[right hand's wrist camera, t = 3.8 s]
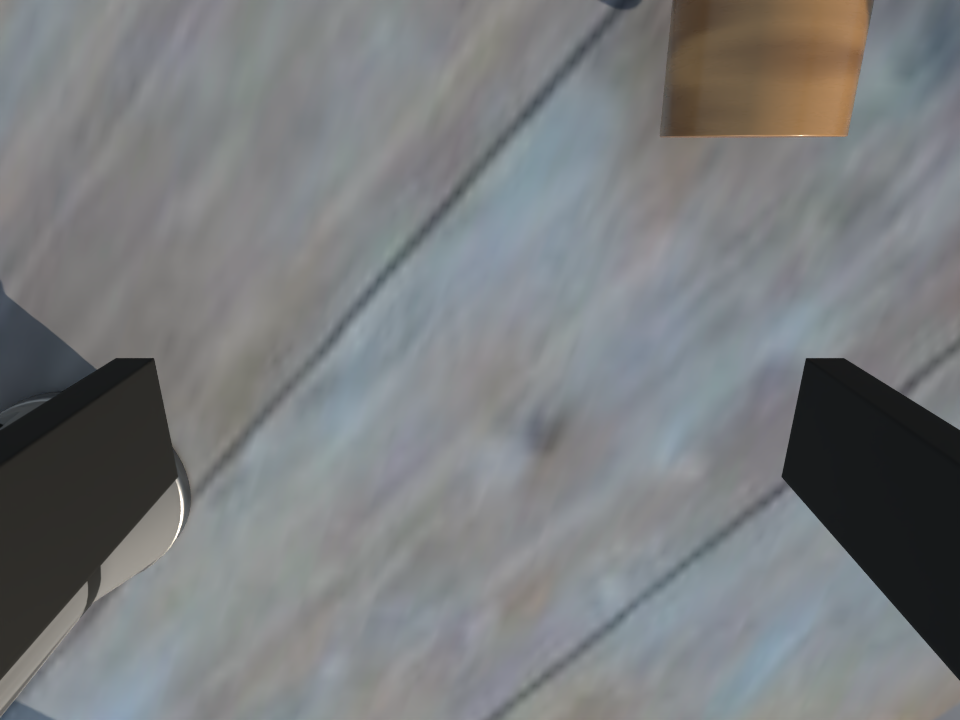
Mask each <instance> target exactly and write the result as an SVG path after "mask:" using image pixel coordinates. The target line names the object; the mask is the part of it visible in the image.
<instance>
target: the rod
mask: <svg viewBox="0 0 960 720" xmlns="http://www.w3.org/2000/svg"><path fill="white" fill-rule="evenodd" d="M873 3H874V0H673V3H672V13H671V24H670V34H669V45H668V55H667V66H666V76H665V86H664V97H663V107H662V118H661V128H660V137H846V136H847V135H848V131H849V126H850V121H851V116H852V110H853V105H854V100H855V95H856V90H857V85H858V80H859V75H860V70H861V64H862V59H863V54H864V49H865V44H866V39H867V34H868V29H869V24H870V18H871V13H872V8H873Z"/></svg>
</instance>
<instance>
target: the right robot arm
mask: <svg viewBox="0 0 960 720" xmlns="http://www.w3.org/2000/svg"><path fill="white" fill-rule="evenodd" d="M782 478H783V479H784V480H785V481H786V482H787V484H788V485H789V486H790V487H791V488H792V489H793V490H794V492H795V493H796V494H797V495H798V496H799V497H800V498H801V500H802V501H803V502H804V503H805V504H806V505H807V506H808V508H809V509H810V510H811V511H812V512H813V513H814V514H815V516H816V517H817V518H818V519H819V520H820V521H821V522H822V524H823V525H824V526H825V527H826V528H827V529H828V530H829V532H830V533H831V534H832V535H833V536H834V537H835V538H836V540H837V541H838V542H839V543H840V544H841V545H842V547H843V548H844V549H845V550H846V551H847V552H848V553H849V555H850V556H851V557H852V558H853V559H854V560H855V561H856V563H857V564H858V565H859V566H860V567H861V568H862V569H863V571H864V572H865V573H866V574H867V575H868V576H869V577H870V579H871V580H872V581H873V582H874V583H875V584H876V585H877V587H878V588H879V589H880V590H881V591H882V592H883V593H884V595H885V596H886V597H887V598H888V599H889V600H890V601H891V603H892V604H893V605H894V606H895V607H896V608H897V609H898V611H899V612H900V613H901V614H902V615H903V616H904V617H905V619H906V620H907V621H908V622H909V623H910V624H911V625H912V627H913V628H914V629H915V630H916V631H917V632H918V633H919V635H920V636H921V637H922V638H923V639H924V640H925V641H926V643H927V644H928V645H929V646H930V647H931V648H932V649H933V651H934V652H935V653H936V654H937V655H938V656H939V657H940V659H941V660H942V661H943V662H944V663H945V664H946V665H947V667H948V668H949V669H950V670H951V671H952V672H953V673H954V675H955V676H956V677H957V678H958V679H959V680H960V430H959V429H957V428H955V427H954V426H952V425H951V424H949V423H947V422H946V421H944V420H943V419H941V418H939V417H938V416H936V415H935V414H933V413H931V412H930V411H928V410H926V409H925V408H923V407H922V406H920V405H918V404H917V403H915V402H914V401H912V400H910V399H909V398H907V397H906V396H904V395H902V394H901V393H899V392H897V391H896V390H894V389H893V388H891V387H889V386H888V385H886V384H885V383H883V382H881V381H880V380H878V379H877V378H875V377H873V376H872V375H870V374H869V373H867V372H865V371H864V370H862V369H860V368H859V367H857V366H856V365H854V364H852V363H851V362H849V361H848V360H846V359H844V358H806V361H805V366H804V371H803V375H802V380H801V385H800V390H799V395H798V400H797V405H796V409H795V414H794V419H793V424H792V429H791V434H790V439H789V443H788V448H787V453H786V458H785V463H784V468H783V473H782ZM190 502H191V495H190V486H189V481H188V477H187V474H186V471H185V469H184V466H183V464H182V462H181V460H180V458H179V456H178V455H177V453H176V452H175V450H174V449H173V447H172V443H171V439H170V434H169V429H168V424H167V419H166V414H165V409H164V405H163V400H162V395H161V390H160V385H159V380H158V375H157V371H156V366H155V361H154V358H116V359H114V360H112V361H111V362H109V363H108V364H106V365H104V366H103V367H101V368H100V369H98V370H96V371H95V372H93V373H91V374H90V375H88V376H87V377H85V378H83V379H82V380H80V381H79V382H77V383H75V384H74V385H72V386H71V387H69V388H67V389H66V390H64V391H63V392H52V393H45V394H40V395H36V396H33V397H30V398H27V399H25V400H22V401H20V402H19V403H17V404H15V405H13V406H11V407H10V408H8V409H6V410H5V411H3V412H1V413H0V717H1V716H2V715H3V714H4V712H5V711H6V710H7V709H8V707H9V706H10V705H11V704H12V702H13V701H14V700H15V699H16V697H17V696H18V695H19V694H20V692H21V691H22V690H23V689H24V687H25V686H26V685H27V684H28V682H29V681H30V680H31V679H32V677H33V676H34V675H35V674H36V672H37V671H38V670H39V669H40V668H41V666H42V665H43V664H44V663H45V661H46V660H47V659H48V658H49V656H50V655H51V654H52V653H53V651H54V650H55V649H56V648H57V646H58V645H59V644H60V643H61V641H62V640H63V639H64V638H65V636H66V635H67V634H68V633H69V631H70V630H71V629H72V628H73V626H74V625H75V624H76V623H77V621H78V620H79V619H80V618H81V616H82V615H83V614H84V613H85V612H86V610H87V609H88V608H89V607H90V606H91V604H92V603H93V602H95V601H96V600H98V599H99V598H101V597H102V596H104V595H105V594H107V593H109V592H110V591H112V590H113V589H115V588H116V587H118V586H119V585H121V584H122V583H124V582H125V581H127V580H128V579H130V578H131V577H133V576H135V575H136V574H138V573H140V572H142V571H144V570H146V569H147V568H149V567H150V566H151V565H153V564H154V563H155V562H156V561H157V560H158V559H160V558H161V557H162V556H163V555H164V554H165V553H166V552H167V551H168V549H169V548H170V547H171V546H172V544H173V543H174V542H175V540H176V539H177V537H178V536H179V535H180V533H181V532H182V530H183V528H184V526H185V524H186V522H187V518H188V515H189V511H190Z"/></svg>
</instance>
